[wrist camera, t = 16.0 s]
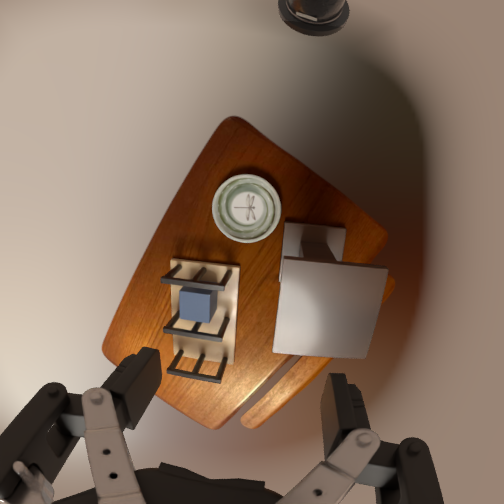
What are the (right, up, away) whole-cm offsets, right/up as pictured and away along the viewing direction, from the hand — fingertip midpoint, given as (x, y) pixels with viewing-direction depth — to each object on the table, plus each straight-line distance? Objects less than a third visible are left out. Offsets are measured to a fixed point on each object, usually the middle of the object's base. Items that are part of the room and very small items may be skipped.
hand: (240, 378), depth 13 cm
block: (-7, -1, +33) cm, 34 cm away
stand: (+9, +6, +31) cm, 33 cm away
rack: (-7, -4, +35) cm, 36 cm away
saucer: (0, +12, +30) cm, 33 cm away
